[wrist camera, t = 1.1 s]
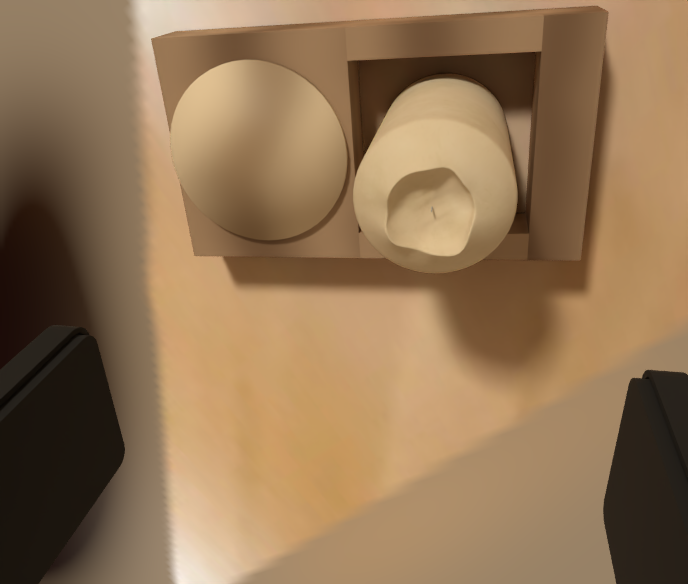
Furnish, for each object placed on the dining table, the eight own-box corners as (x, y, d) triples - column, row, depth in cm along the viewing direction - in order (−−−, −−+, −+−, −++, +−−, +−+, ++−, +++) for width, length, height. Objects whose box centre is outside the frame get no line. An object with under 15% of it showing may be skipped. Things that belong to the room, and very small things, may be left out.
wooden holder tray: (597, 5, 25) (610, 12, 23) (573, 237, 30) (581, 263, 28) (175, 31, 29) (148, 39, 26) (212, 235, 34) (192, 258, 31)
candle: (528, 156, 29) (551, 248, 20) (422, 213, 31) (400, 317, 22) (469, 45, 27) (466, 94, 18) (361, 113, 29) (312, 186, 20)
